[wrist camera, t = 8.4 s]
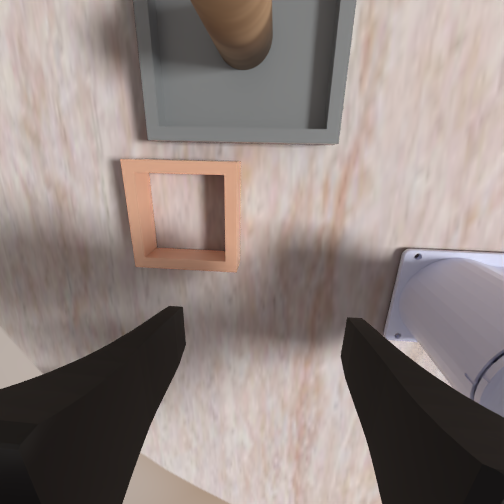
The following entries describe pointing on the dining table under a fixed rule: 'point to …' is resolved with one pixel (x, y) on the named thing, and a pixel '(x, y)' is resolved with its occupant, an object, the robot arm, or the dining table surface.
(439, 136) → the dining table surface
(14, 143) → the dining table surface
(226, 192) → the collar
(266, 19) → the dowel
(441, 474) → the robot arm
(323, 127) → the tray
